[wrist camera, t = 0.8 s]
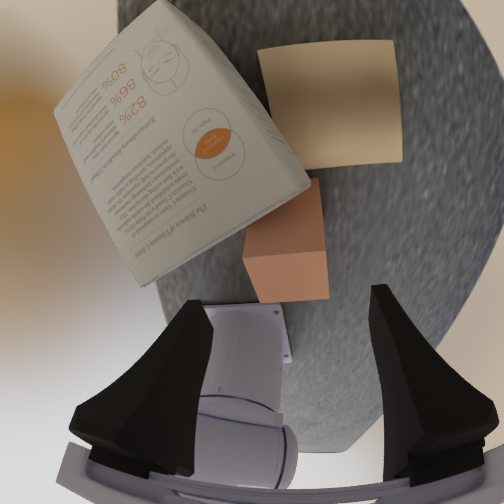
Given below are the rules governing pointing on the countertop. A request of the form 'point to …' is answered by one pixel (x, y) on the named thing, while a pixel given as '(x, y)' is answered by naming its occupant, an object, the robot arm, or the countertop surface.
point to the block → (289, 250)
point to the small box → (173, 143)
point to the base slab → (335, 101)
